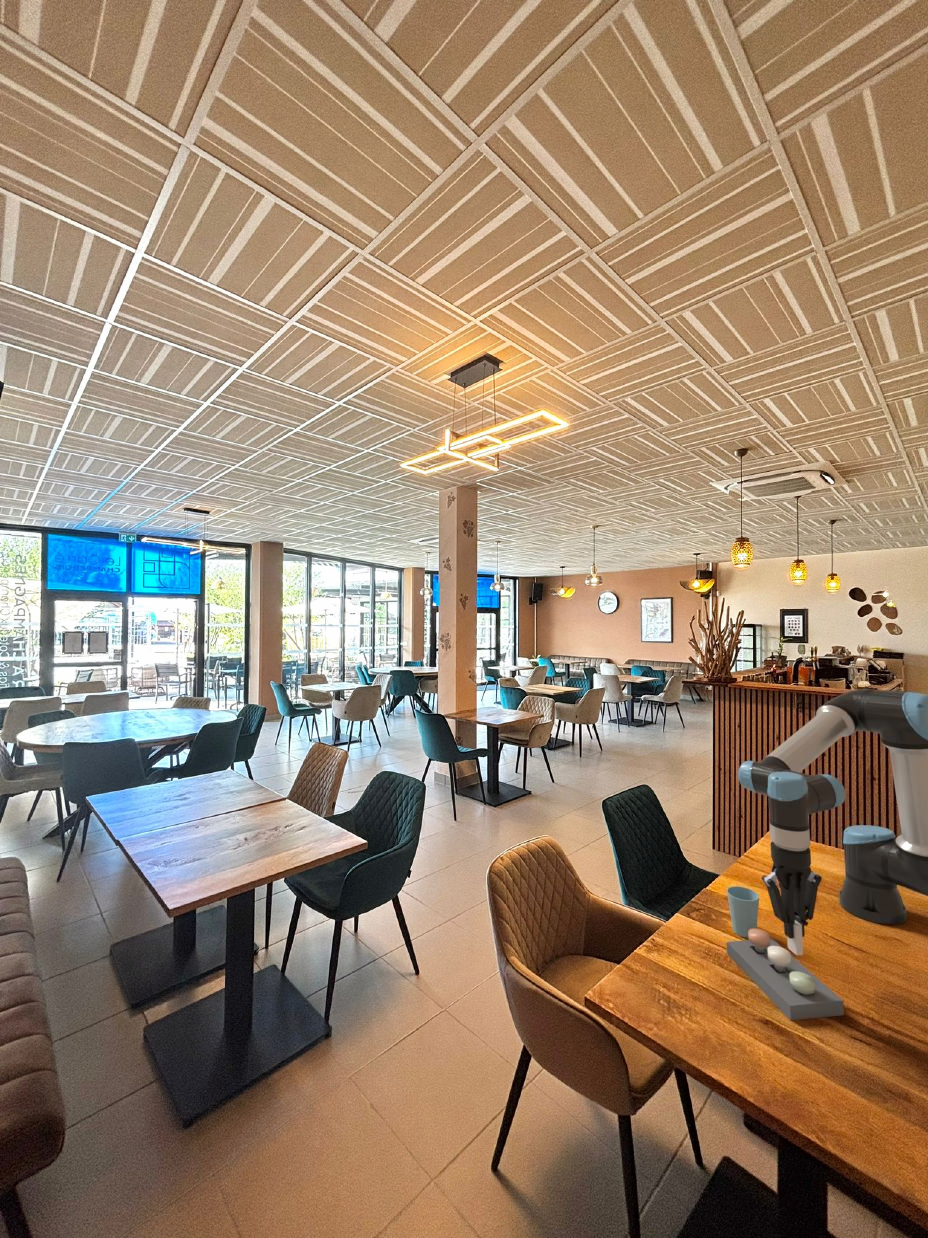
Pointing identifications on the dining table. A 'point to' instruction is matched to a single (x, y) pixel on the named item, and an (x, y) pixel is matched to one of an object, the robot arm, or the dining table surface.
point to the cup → (743, 909)
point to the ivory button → (779, 957)
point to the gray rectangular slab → (784, 983)
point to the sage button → (802, 983)
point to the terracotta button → (759, 939)
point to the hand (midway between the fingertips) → (795, 951)
